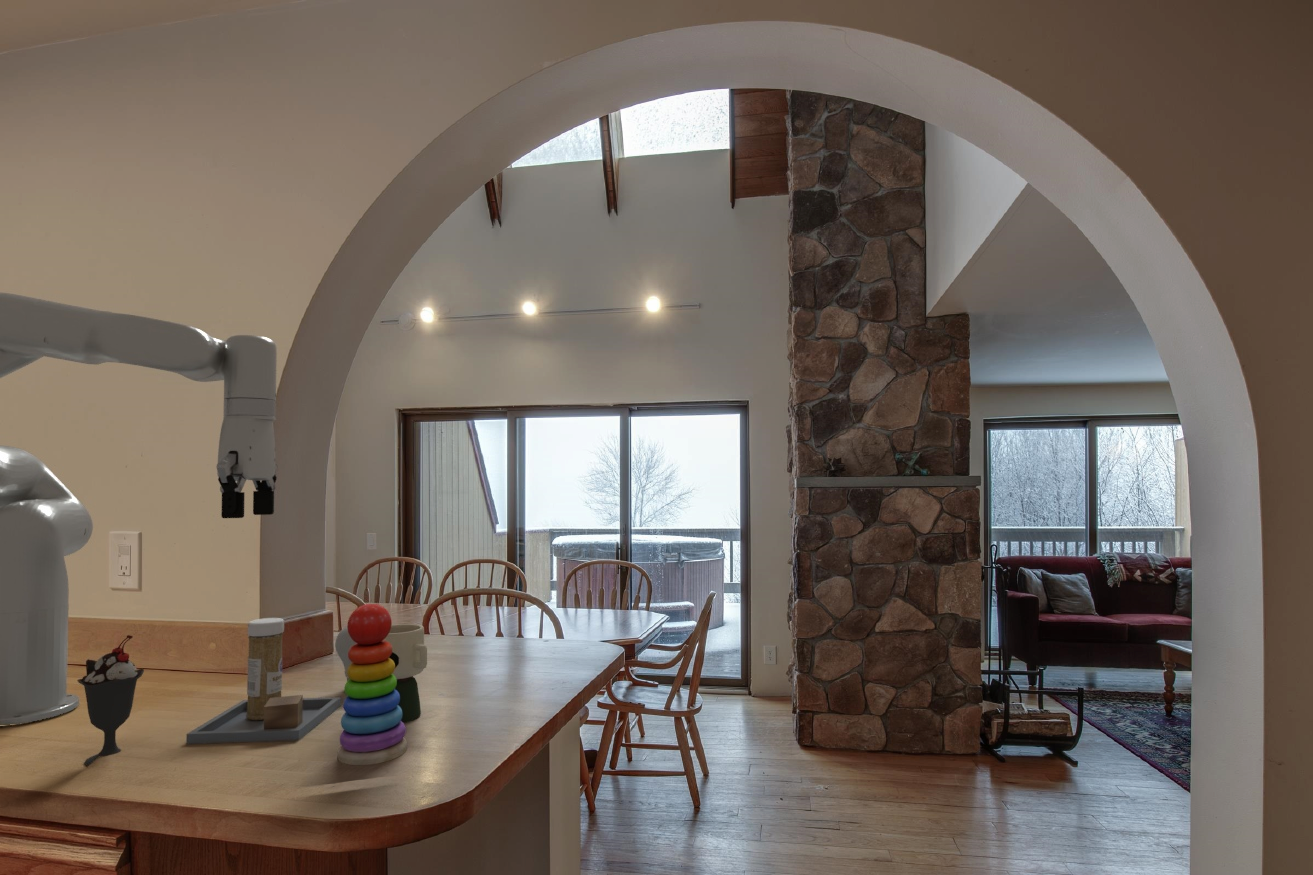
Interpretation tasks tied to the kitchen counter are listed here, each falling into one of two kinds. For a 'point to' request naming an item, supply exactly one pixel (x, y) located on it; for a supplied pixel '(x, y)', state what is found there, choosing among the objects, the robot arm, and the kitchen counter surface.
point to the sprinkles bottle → (264, 664)
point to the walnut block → (283, 712)
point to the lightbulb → (344, 647)
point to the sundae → (110, 695)
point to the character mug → (408, 665)
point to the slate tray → (260, 724)
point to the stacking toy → (371, 693)
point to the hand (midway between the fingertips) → (248, 516)
